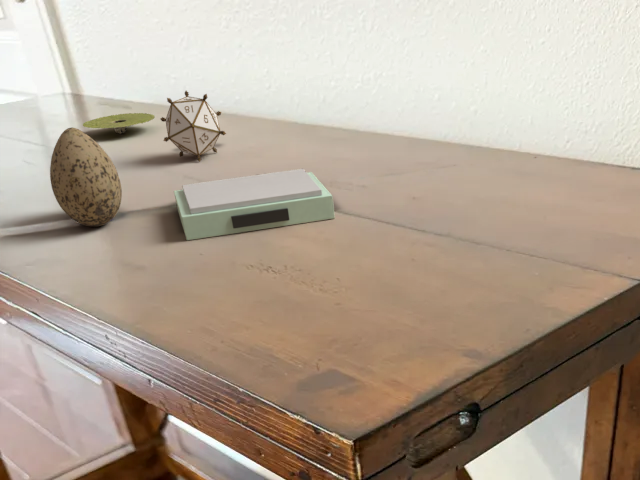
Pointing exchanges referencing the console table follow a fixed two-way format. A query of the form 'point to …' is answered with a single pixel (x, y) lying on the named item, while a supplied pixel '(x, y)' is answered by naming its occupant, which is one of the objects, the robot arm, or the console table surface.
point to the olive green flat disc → (119, 121)
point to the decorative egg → (84, 179)
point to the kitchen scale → (252, 203)
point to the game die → (192, 125)
